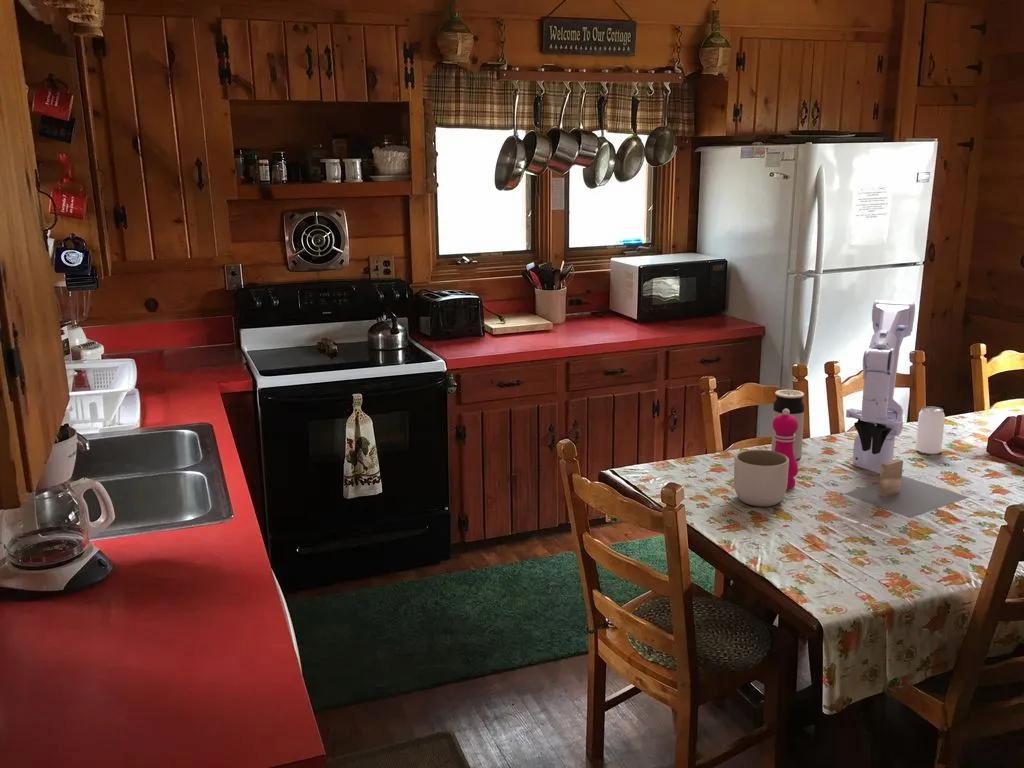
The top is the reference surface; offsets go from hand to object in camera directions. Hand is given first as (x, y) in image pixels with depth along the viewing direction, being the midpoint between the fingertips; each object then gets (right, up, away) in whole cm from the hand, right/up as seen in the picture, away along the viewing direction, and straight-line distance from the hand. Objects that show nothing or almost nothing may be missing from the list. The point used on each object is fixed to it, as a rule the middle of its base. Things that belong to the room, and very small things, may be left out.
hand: (871, 451), depth 216 cm
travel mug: (-13, -3, +27) cm, 30 cm away
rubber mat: (+7, -11, -4) cm, 13 cm away
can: (+27, -2, +28) cm, 39 cm away
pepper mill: (-20, -9, +5) cm, 23 cm away
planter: (-28, -12, -4) cm, 31 cm away
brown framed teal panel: (+3, -10, -3) cm, 11 cm away
